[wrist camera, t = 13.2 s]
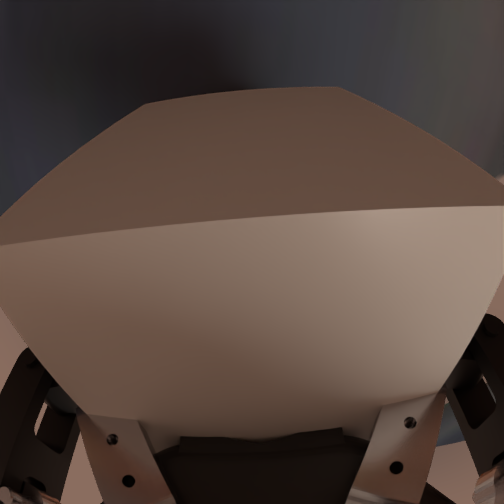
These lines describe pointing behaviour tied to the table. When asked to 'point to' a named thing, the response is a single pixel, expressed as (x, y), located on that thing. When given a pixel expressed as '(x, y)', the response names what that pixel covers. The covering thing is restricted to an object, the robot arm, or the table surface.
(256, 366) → the tan block
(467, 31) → the table surface
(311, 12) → the table surface
